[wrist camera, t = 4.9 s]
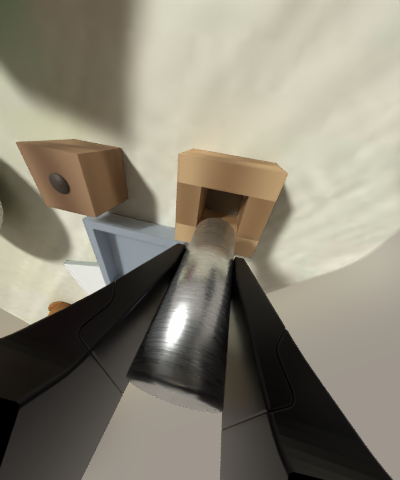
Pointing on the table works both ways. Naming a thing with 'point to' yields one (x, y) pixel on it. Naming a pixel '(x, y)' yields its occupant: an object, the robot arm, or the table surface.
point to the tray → (126, 243)
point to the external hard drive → (86, 275)
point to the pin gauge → (191, 325)
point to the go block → (229, 180)
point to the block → (77, 174)
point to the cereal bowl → (1, 214)
